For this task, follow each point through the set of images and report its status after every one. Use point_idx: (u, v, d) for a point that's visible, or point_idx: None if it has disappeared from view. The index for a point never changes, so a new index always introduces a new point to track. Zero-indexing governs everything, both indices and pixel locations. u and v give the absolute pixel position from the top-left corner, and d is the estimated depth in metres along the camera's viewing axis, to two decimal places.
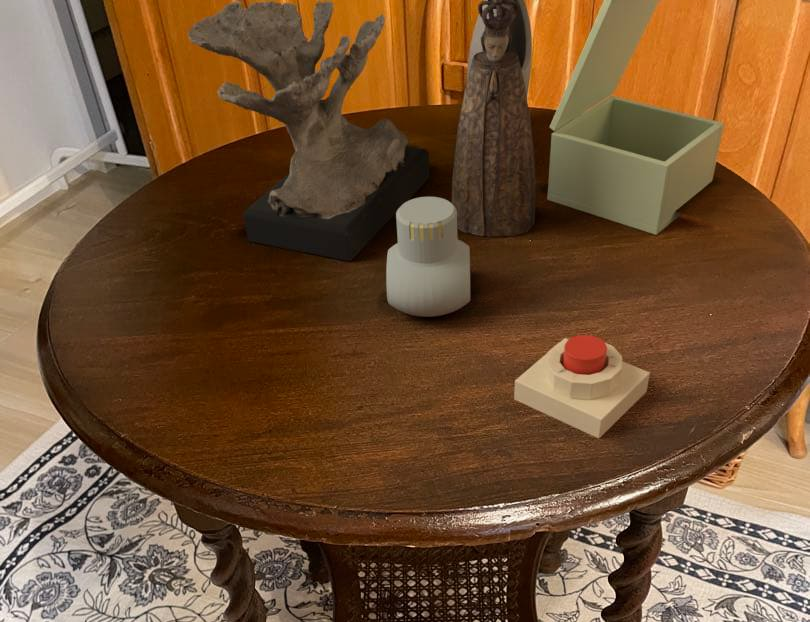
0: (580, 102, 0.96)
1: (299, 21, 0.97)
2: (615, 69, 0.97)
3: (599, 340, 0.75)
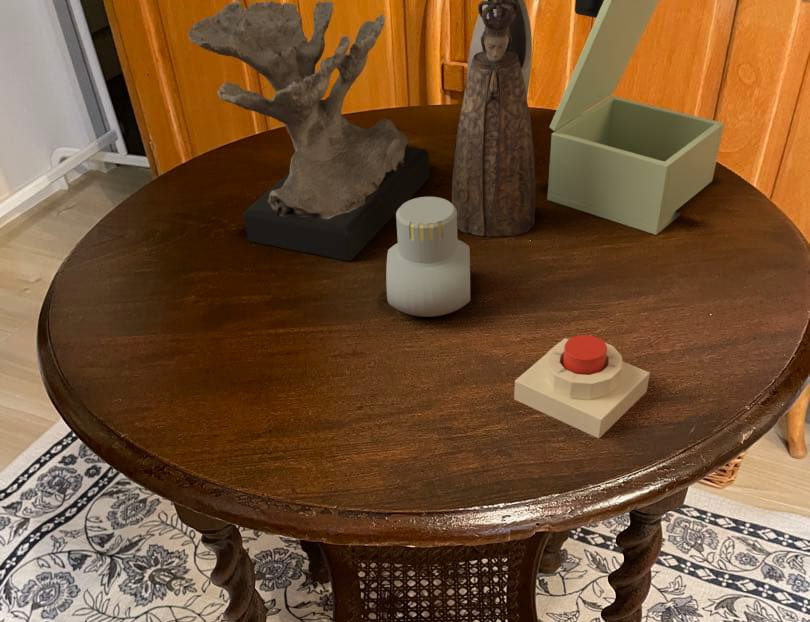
0: (580, 102, 0.96)
1: (299, 21, 0.97)
2: (615, 69, 0.97)
3: (599, 340, 0.75)
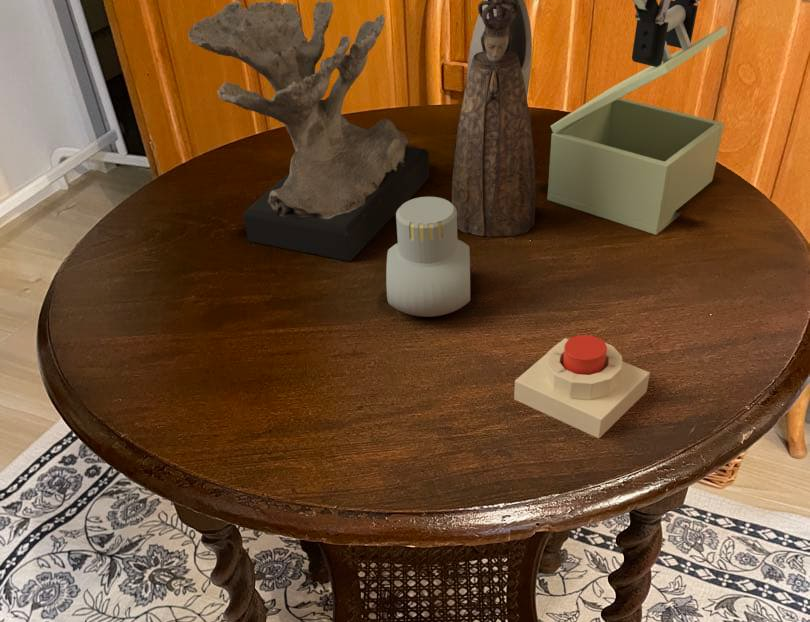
0: None
1: (299, 21, 0.97)
2: None
3: (599, 340, 0.75)
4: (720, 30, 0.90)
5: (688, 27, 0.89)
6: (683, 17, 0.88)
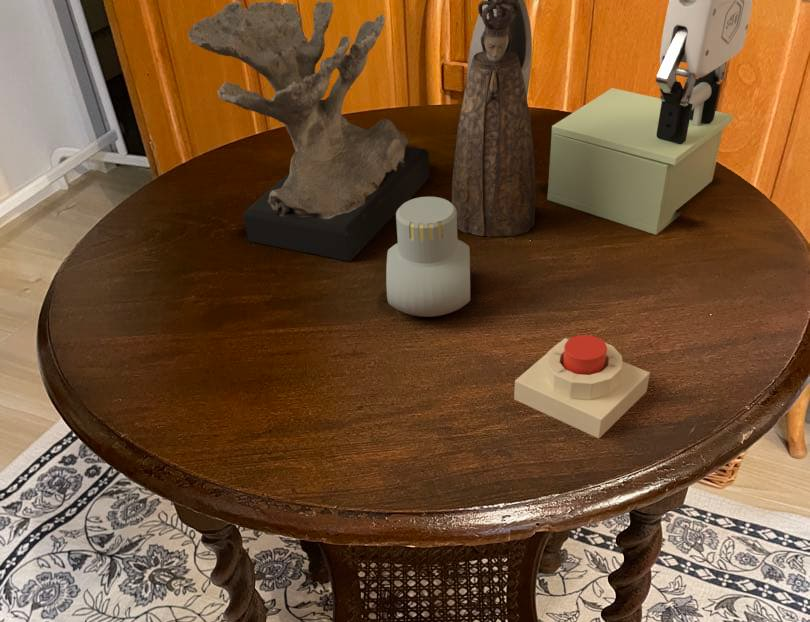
0: None
1: (299, 21, 0.97)
2: None
3: (599, 340, 0.75)
4: (728, 119, 0.95)
5: (712, 103, 0.92)
6: (707, 98, 0.92)
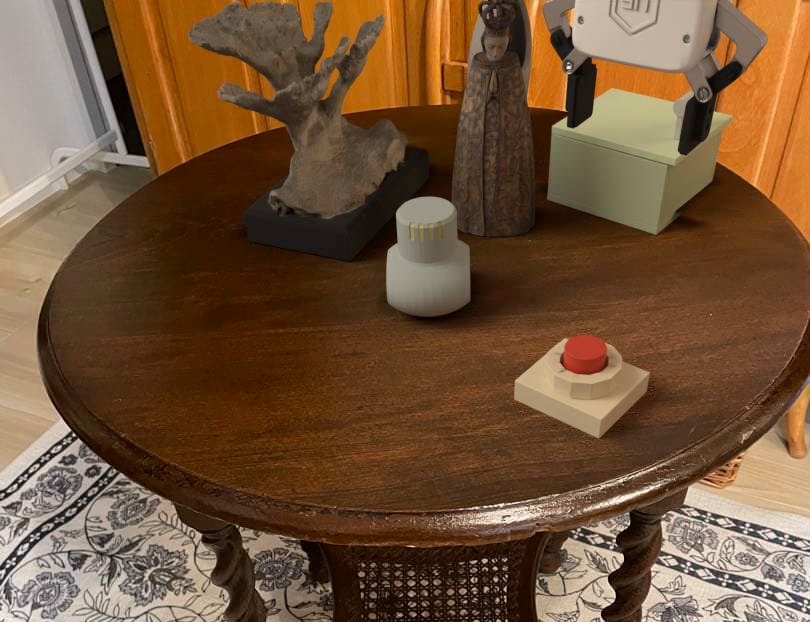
0: None
1: (299, 21, 0.97)
2: None
3: (599, 340, 0.75)
4: (727, 120, 0.95)
5: (682, 125, 0.65)
6: None
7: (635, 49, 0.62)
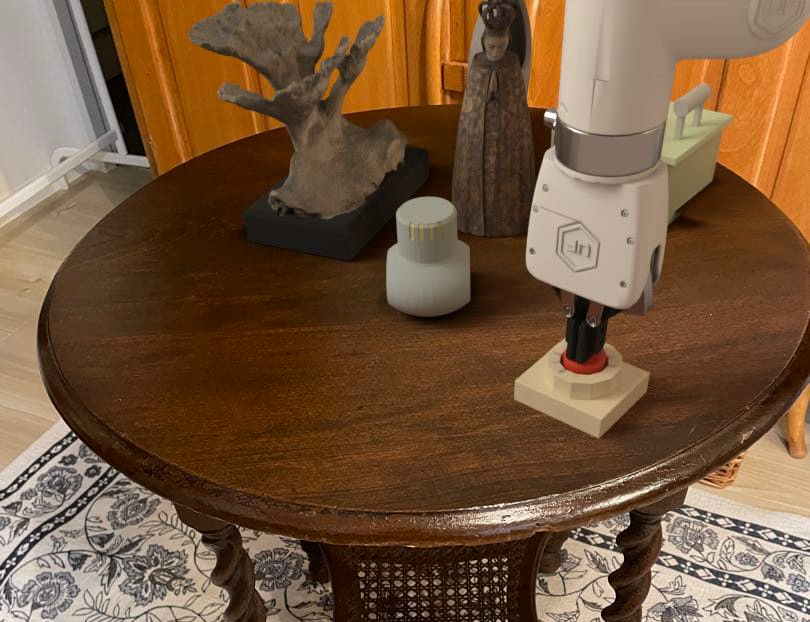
0: None
1: (299, 21, 0.97)
2: None
3: None
4: (727, 120, 0.95)
5: (577, 340, 0.72)
6: (707, 99, 0.92)
7: (579, 284, 0.67)
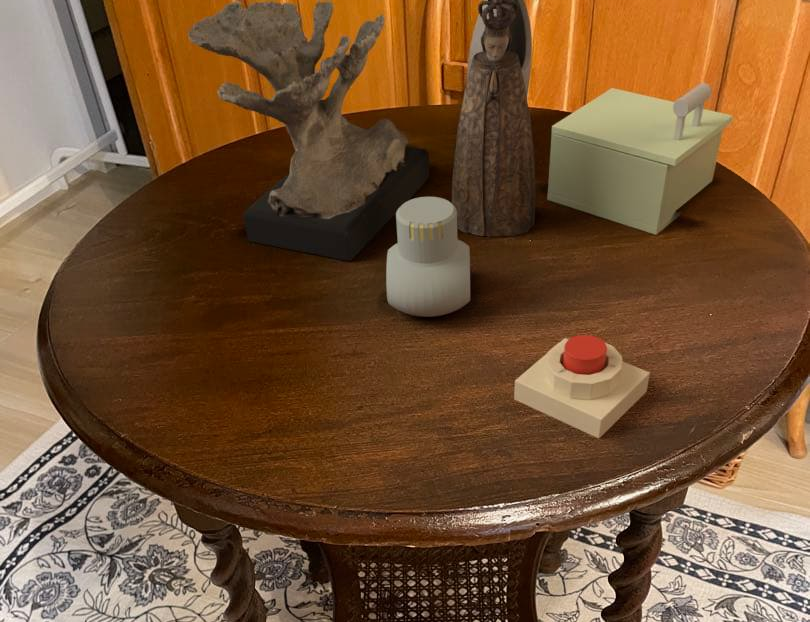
0: None
1: (299, 21, 0.97)
2: None
3: (599, 340, 0.75)
4: (727, 120, 0.95)
5: None
6: (707, 99, 0.92)
7: None
